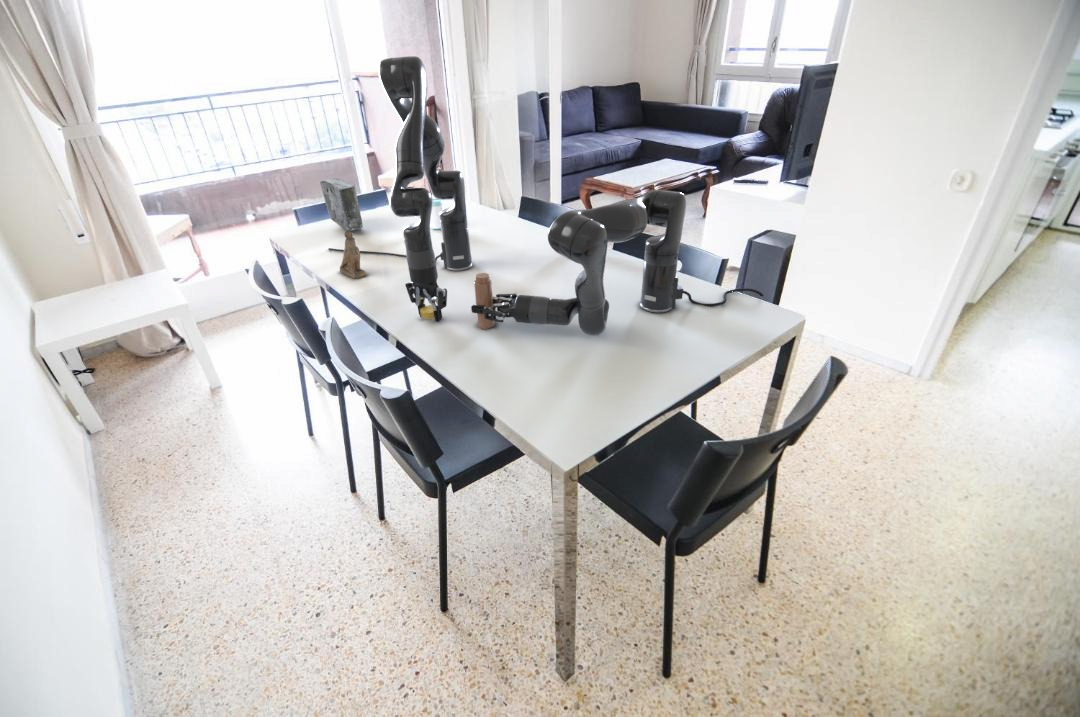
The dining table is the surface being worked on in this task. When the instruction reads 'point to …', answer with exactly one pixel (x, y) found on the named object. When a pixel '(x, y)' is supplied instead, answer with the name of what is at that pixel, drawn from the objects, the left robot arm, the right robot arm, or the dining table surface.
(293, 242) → the dining table surface
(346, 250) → the worn brown figurine
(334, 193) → the concrete block
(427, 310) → the lid
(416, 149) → the left robot arm
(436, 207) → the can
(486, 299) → the jar
